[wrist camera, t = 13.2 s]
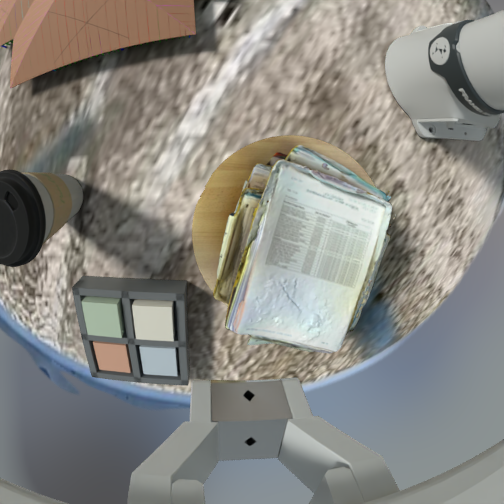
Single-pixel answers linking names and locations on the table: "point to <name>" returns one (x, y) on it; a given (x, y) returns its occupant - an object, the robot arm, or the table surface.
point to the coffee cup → (33, 212)
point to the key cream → (154, 319)
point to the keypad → (128, 293)
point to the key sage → (103, 316)
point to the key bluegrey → (159, 360)
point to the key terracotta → (113, 356)
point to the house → (84, 29)
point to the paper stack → (291, 241)
